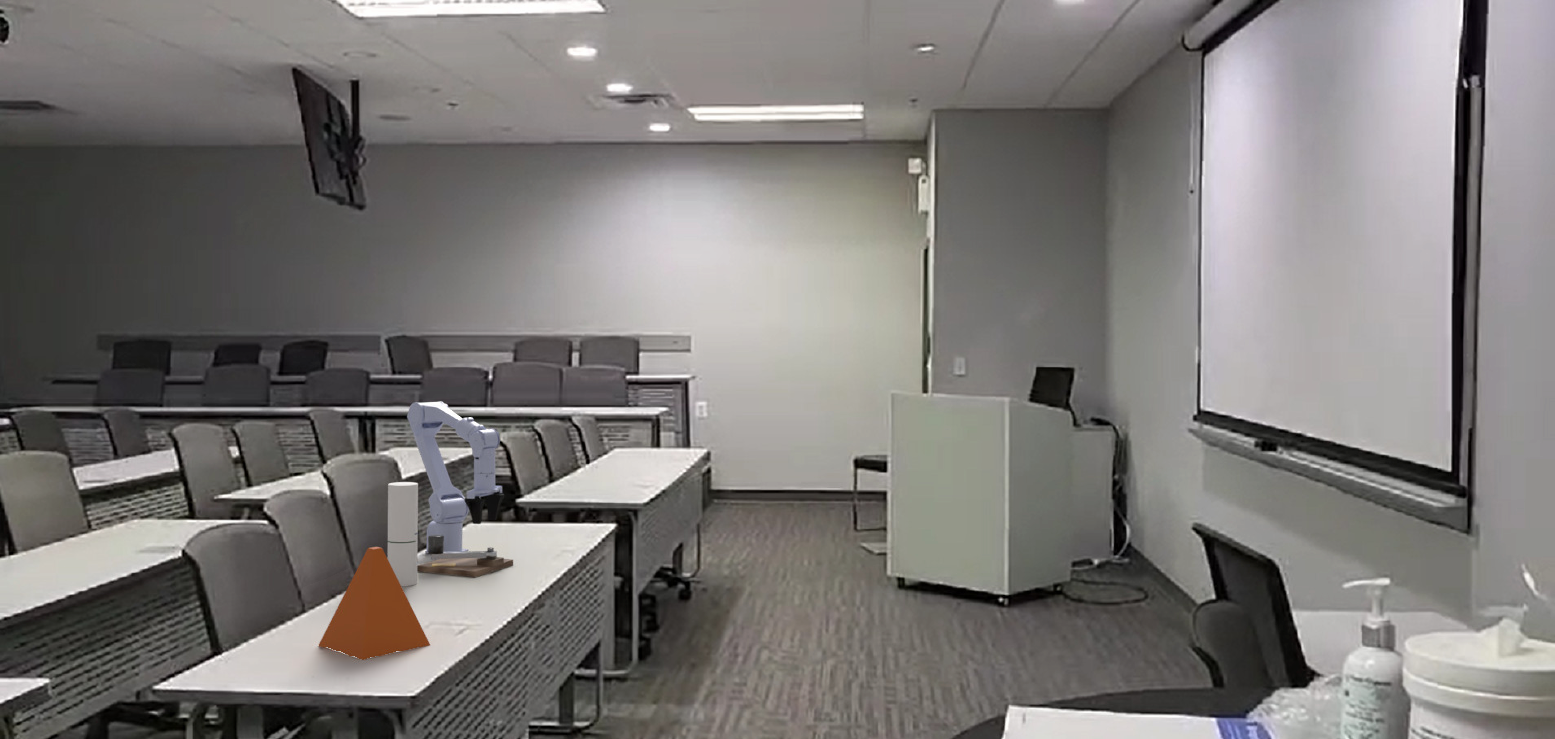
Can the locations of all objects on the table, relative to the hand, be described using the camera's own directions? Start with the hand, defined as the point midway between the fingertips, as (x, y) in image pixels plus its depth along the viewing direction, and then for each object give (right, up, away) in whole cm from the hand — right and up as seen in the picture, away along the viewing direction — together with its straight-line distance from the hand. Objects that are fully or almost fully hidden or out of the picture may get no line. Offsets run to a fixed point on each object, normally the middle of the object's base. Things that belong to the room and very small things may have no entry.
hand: (484, 521), depth 345 cm
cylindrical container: (-13, -12, -33) cm, 37 cm away
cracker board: (-2, -11, -13) cm, 17 cm away
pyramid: (0, -14, -93) cm, 94 cm away
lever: (-2, -8, -16) cm, 18 cm away
